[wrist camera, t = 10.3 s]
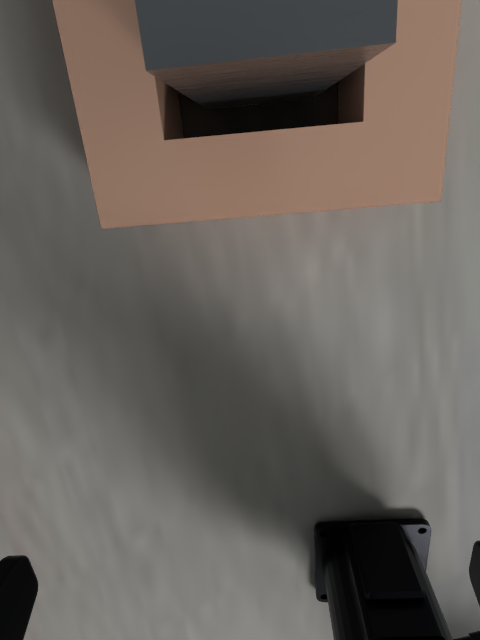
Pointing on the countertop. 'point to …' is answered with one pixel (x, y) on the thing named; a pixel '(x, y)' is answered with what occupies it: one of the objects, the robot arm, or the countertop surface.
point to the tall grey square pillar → (260, 46)
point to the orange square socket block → (263, 146)
